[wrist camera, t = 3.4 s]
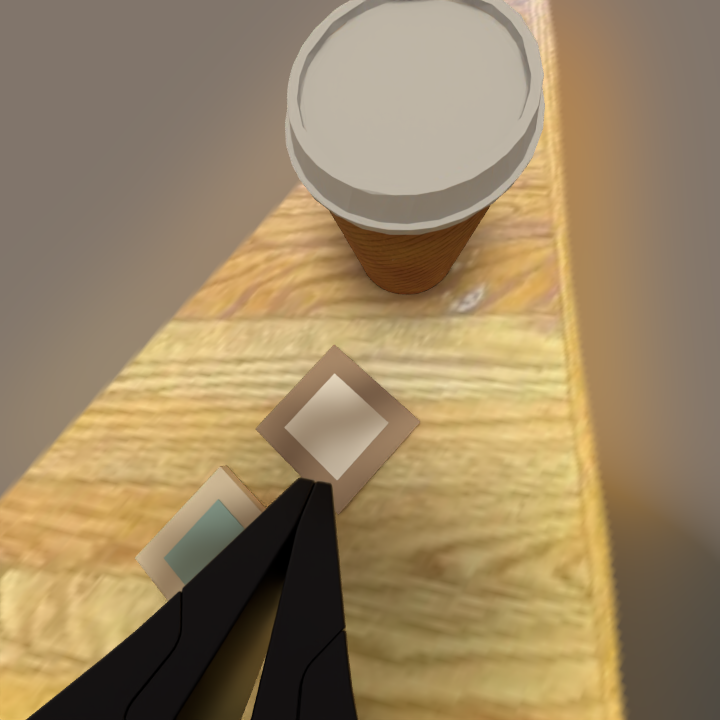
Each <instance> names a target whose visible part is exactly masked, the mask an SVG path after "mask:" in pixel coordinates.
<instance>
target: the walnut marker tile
mask: <svg viewBox="0 0 720 720" xmlns="http://www.w3.org/2000/svg"><path fill="white" fill-rule="evenodd" d="M419 423H420V421H419V420H418V419H417V418H416V417H415V416H414V415H413V414H411V413H410V412H409V411H408V410H407V409H406V408H405V407H404V406H402V405H401V404H400V403H399V402H398V401H397V400H396V399H395V398H393V397H392V396H391V395H390V394H389V393H388V392H387V391H386V390H385V389H383V388H382V387H381V386H380V385H379V384H378V383H377V382H376V381H374V380H373V379H372V378H371V377H370V376H369V375H368V374H367V373H365V372H364V371H363V370H362V369H361V368H360V367H359V366H358V365H357V364H355V363H354V362H353V361H352V360H351V359H350V358H349V357H348V356H346V355H345V354H344V353H343V352H342V351H341V350H340V349H339V348H338V347H336V346H335V345H333V346H332V347H331V348H330V349H329V350H328V352H327V353H326V354H325V355H324V356H323V357H322V358H321V359H320V360H319V361H318V362H317V363H316V364H315V365H314V367H313V368H312V369H311V370H310V371H309V372H308V373H307V374H306V375H305V376H304V377H303V378H302V379H301V380H300V382H299V383H298V384H297V385H296V386H295V387H294V388H293V389H292V390H291V391H290V392H289V393H288V394H287V395H286V396H285V398H284V399H283V400H282V401H281V402H280V403H279V404H278V405H277V406H276V407H275V408H274V409H273V410H272V411H271V413H270V414H269V415H268V416H267V417H266V418H265V419H264V420H263V421H262V422H261V423H260V424H259V425H258V426H257V428H256V430H257V431H258V432H259V433H260V434H261V435H262V436H263V437H264V438H265V439H266V441H267V442H268V443H269V444H270V445H271V446H272V447H273V448H274V449H275V450H276V451H277V452H278V453H279V454H280V455H281V456H282V457H283V458H284V459H285V460H286V461H287V462H288V463H289V464H290V465H291V466H292V467H293V468H294V469H295V470H296V471H297V473H298V474H299V475H300V476H301V477H303V478H308V479H313V480H315V482H316V481H324V482H329V483H331V484H332V486H333V496H334V506H335V512H336V513H337V514H339V513H340V512H341V511H342V510H343V509H344V508H345V507H346V505H347V504H348V503H349V502H350V501H351V500H352V499H353V497H354V496H355V495H356V494H357V493H358V492H359V491H360V490H361V488H362V487H363V486H364V485H365V484H366V483H367V482H368V481H369V479H370V478H371V477H372V476H373V475H374V474H375V473H376V471H377V470H378V469H379V468H380V467H381V466H382V465H383V464H384V462H385V461H386V460H387V459H388V458H389V457H390V456H391V454H392V453H393V452H394V451H395V450H396V449H397V448H398V447H399V445H400V444H401V443H402V442H403V441H404V440H405V439H406V438H407V436H408V435H409V434H410V433H411V432H412V431H413V430H414V428H415V427H416V426H417V425H418V424H419Z"/></svg>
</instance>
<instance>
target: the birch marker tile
mask: <svg viewBox="0 0 720 720" xmlns="http://www.w3.org/2000/svg"><path fill="white" fill-rule="evenodd" d="M265 509H266V508H265V507H264V506H263V505H262V504H261V503H260V502H259V501H258V500H257V498H256V497H255V496H254V495H253V494H252V493H251V492H250V491H249V490H248V489H247V488H246V486H245V485H244V484H243V483H242V482H241V481H240V480H239V479H238V478H237V477H236V475H235V474H234V473H233V472H232V471H231V470H230V469H229V468H228V467H227V466H220V467H219V468H218V469H217V470H216V471H215V472H214V474H213V475H212V476H211V477H210V478H209V479H208V480H207V481H206V482H205V483H204V484H203V485H202V486H201V487H200V489H199V490H198V491H197V492H196V493H195V494H194V495H193V496H192V497H191V498H190V499H189V500H188V501H187V502H186V504H185V505H184V506H183V507H182V508H181V509H180V510H179V511H178V512H177V513H176V514H175V515H174V516H173V517H172V519H171V520H170V521H169V522H168V523H167V524H166V525H165V526H164V527H163V528H162V529H161V530H160V531H159V532H158V534H157V535H156V536H155V537H154V538H153V539H152V540H151V541H150V542H149V543H148V544H147V545H146V546H145V547H144V548H143V550H142V551H141V552H140V553H139V554H138V555H137V556H136V557H135V559H136V560H137V561H138V563H139V564H140V565H141V567H142V568H143V569H144V570H145V572H146V573H147V574H148V576H149V577H150V578H151V579H152V581H153V582H154V583H155V585H156V586H157V587H158V589H159V590H160V591H161V592H162V594H163V595H164V596H165V598H166V599H167V600H168V601H169V600H170V599H171V598H172V597H173V596H174V595H175V594H176V593H177V592H178V591H182V588H183V587H184V586H185V585H186V584H187V583H188V582H189V581H190V580H191V579H192V578H193V577H194V576H195V575H196V574H198V573H199V572H200V571H201V570H202V569H203V568H204V567H205V566H206V565H207V564H208V563H209V562H210V561H211V560H212V559H213V558H214V557H216V556H217V555H218V554H219V553H220V552H221V551H222V550H223V549H224V548H225V547H226V546H227V545H228V544H229V543H230V542H231V541H232V540H234V539H235V538H236V537H237V536H238V535H239V534H240V533H241V532H242V531H243V530H244V529H245V528H246V527H247V526H248V525H249V524H250V523H251V522H253V521H254V520H255V519H256V518H257V517H258V516H259V515H260V514H261V513H262V512H263V511H264V510H265Z"/></svg>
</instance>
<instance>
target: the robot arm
mask: <svg viewBox="0 0 720 720" xmlns="http://www.w3.org/2000/svg"><path fill="white" fill-rule="evenodd" d="M345 628H346V625H345V614H344V603H343V593H342V582H341V571H340V560H339V549H338V539H337V528H336V517H335V506H334V496H333V486H332V484H331V483H329V482H324V481H316V482H315V480H313V479H308V478H303V477H300V478H298V479H297V480H296V481H295V482H294V483H293V484H292V485H291V486H290V487H288V488H287V489H286V490H285V491H284V492H283V493H282V494H281V495H280V496H279V497H278V498H277V499H276V500H275V501H274V502H273V503H272V504H271V505H269V506H268V507H267V508H266V509H265V510H264V511H263V512H262V513H261V514H260V515H259V516H258V517H257V518H256V519H255V520H254V521H253V522H251V523H250V524H249V525H248V526H247V527H246V528H245V529H244V530H243V531H242V532H241V533H240V534H239V535H238V536H237V537H236V538H235V539H234V540H232V541H231V542H230V543H229V544H228V545H227V546H226V547H225V548H224V549H223V550H222V551H221V552H220V553H219V554H218V555H217V556H216V557H214V558H213V559H212V560H211V561H210V562H209V563H208V564H207V565H206V566H205V567H204V568H203V569H202V570H201V571H200V572H199V573H198V574H196V575H195V576H194V577H193V578H192V579H191V580H190V581H189V582H188V583H187V584H186V585H185V586H184V587H183V588H182V591H178V592H177V593H176V594H175V595H174V596H173V597H172V598H171V599H170V600H169V601H168V602H167V603H166V604H165V605H164V606H163V607H161V608H160V609H159V610H158V611H157V612H156V613H155V614H154V615H153V616H151V617H150V618H149V619H148V620H147V621H146V622H145V623H144V624H143V625H142V626H140V627H139V628H138V629H137V630H136V631H135V632H134V633H132V634H131V635H130V636H129V637H128V638H126V639H125V640H124V641H123V642H122V643H120V644H119V645H118V646H117V647H116V648H114V649H113V650H112V651H111V652H109V653H108V654H107V655H106V656H105V657H103V658H102V659H101V660H100V661H98V662H97V663H96V664H95V665H93V666H92V667H91V668H90V669H88V670H87V671H86V672H85V673H83V674H82V675H81V676H80V677H79V678H77V679H76V680H75V681H74V682H72V683H71V684H70V685H69V686H67V687H66V688H65V689H64V690H62V691H61V692H60V693H59V694H57V695H56V696H55V697H54V698H52V699H51V700H50V701H49V702H47V703H46V704H45V705H44V706H42V707H41V708H40V709H39V710H37V711H36V712H35V713H34V714H32V715H31V716H30V717H29V718H27V719H26V720H241V718H242V715H243V713H244V710H245V708H246V705H247V702H248V700H249V697H250V695H251V692H252V690H253V687H254V684H255V682H256V679H257V677H258V674H259V671H260V669H261V666H262V664H263V661H264V658H265V656H266V658H265V663H264V667H263V671H262V675H261V679H260V683H259V688H258V692H257V696H256V700H255V704H254V709H253V713H252V717H251V720H358V716H357V710H356V704H355V699H354V693H353V687H352V680H351V671H350V663H349V655H348V645H347V634H346V631H345ZM266 653H267V654H266Z"/></svg>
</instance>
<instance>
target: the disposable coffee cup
mask: <svg viewBox="0 0 720 720" xmlns="http://www.w3.org/2000/svg"><path fill="white" fill-rule="evenodd" d="M543 77H544V73H543V68H542V63H541V57H540V52H539V47H538V42H537V41H536V39H535V37H534V36H533V34H532V33H531V31H530V29H529V28H528V26H527V24H526V23H525V21H524V20H523V18H522V16H521V15H520V14H519V13H518V12H516V11H515V10H514V9H513V8H512V7H510V6H509V5H508V4H507V3H506V2H504V1H503V0H350V1H348V2H346V3H345V4H343V5H342V6H340V7H338V8H337V9H335V10H334V11H333V12H332V13H331V14H330V15H329V16H328V17H327V18H326V19H325V20H324V21H323V22H322V23H320V24H319V25H318V26H317V27H316V28H315V29H314V31H313V32H312V33H311V35H310V36H309V38H308V39H307V40H306V42H305V43H304V44H303V46H302V47H301V49H300V52H299V54H298V56H297V58H296V60H295V63H294V65H293V67H292V70H291V74H290V79H289V83H288V91H287V105H288V108H287V115H286V121H285V131H286V146H287V149H288V153H289V156H290V159H291V163H292V165H293V167H294V169H295V171H296V173H297V175H298V177H299V179H300V181H301V182H302V183H303V184H304V186H305V187H306V188H307V190H308V191H309V192H310V193H311V195H312V196H313V197H314V199H315V200H316V201H318V202H319V203H320V204H322V205H323V206H324V207H326V208H327V209H328V210H329V211H330V213H331V214H332V216H333V218H334V219H335V221H336V223H337V224H338V226H339V228H340V229H341V231H342V233H343V234H344V236H345V238H346V239H347V241H348V243H349V245H350V246H351V248H352V249H353V251H354V253H355V255H356V256H357V258H358V260H359V261H360V263H361V265H362V266H363V268H364V270H365V272H366V274H367V275H368V276H369V278H370V279H371V280H372V281H373V282H374V283H376V284H377V285H378V286H380V287H381V288H383V289H385V290H387V291H390V292H394V293H398V294H415V293H419V292H423V291H426V290H428V289H430V288H432V287H434V286H435V285H436V284H438V283H439V282H440V281H442V280H443V278H444V277H445V276H446V275H447V274H448V272H449V270H450V269H451V267H452V265H453V264H454V262H455V261H456V259H457V257H458V256H459V254H460V253H461V251H462V250H463V248H464V247H465V245H466V243H467V242H468V240H469V238H470V237H471V235H472V234H473V232H474V231H475V229H476V227H477V226H478V224H479V223H480V221H481V219H482V218H483V217H484V215H485V213H486V212H487V210H488V209H489V207H490V205H491V204H493V203H494V202H495V201H496V200H497V199H498V198H499V197H500V196H501V195H503V194H504V193H505V192H506V191H507V190H508V189H509V188H510V187H511V186H512V185H513V184H514V182H515V181H516V180H517V178H518V177H519V176H520V174H521V173H522V172H523V170H524V169H525V168H526V166H527V165H528V164H529V162H530V160H531V159H532V157H533V154H534V151H535V149H536V146H537V143H538V140H539V138H540V135H541V132H542V130H543V121H544V109H545V103H544V96H543V89H542V84H543Z"/></svg>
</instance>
